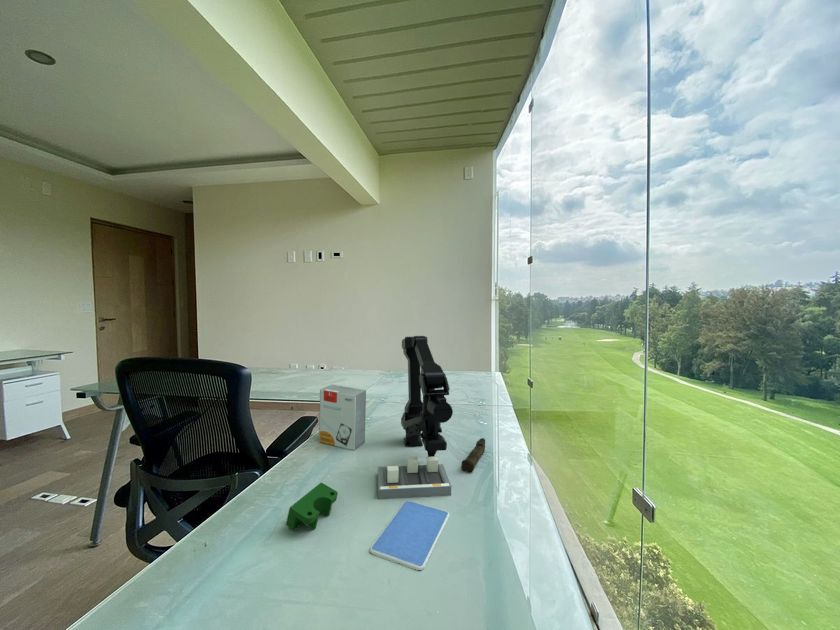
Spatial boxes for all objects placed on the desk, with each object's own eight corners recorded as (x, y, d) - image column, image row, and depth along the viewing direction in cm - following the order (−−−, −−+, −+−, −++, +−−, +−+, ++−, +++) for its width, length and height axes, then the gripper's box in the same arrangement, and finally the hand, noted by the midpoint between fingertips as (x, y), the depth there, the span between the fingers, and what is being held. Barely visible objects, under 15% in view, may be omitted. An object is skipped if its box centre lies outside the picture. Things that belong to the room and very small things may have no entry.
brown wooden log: (472, 474, 103) (473, 460, 103) (460, 471, 105) (461, 456, 105) (491, 450, 120) (491, 438, 119) (480, 448, 121) (481, 435, 121)
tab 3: (426, 467, 101) (426, 456, 100) (436, 467, 101) (436, 456, 101) (427, 472, 98) (428, 460, 98) (437, 471, 99) (438, 460, 98)
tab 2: (406, 468, 100) (407, 457, 100) (416, 468, 100) (417, 457, 100) (407, 473, 97) (407, 461, 97) (417, 472, 98) (417, 461, 98)
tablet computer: (405, 503, 89) (405, 498, 89) (450, 515, 84) (450, 510, 84) (367, 555, 71) (368, 549, 71) (422, 575, 66) (423, 568, 66)
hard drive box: (318, 442, 122) (318, 389, 120) (331, 434, 129) (331, 384, 127) (354, 451, 116) (355, 395, 114) (366, 442, 123) (366, 389, 122)
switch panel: (378, 474, 101) (378, 464, 101) (442, 471, 104) (442, 462, 104) (378, 499, 89) (378, 487, 89) (451, 495, 92) (451, 484, 92)
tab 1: (387, 478, 94) (387, 466, 94) (397, 477, 95) (398, 465, 95) (387, 483, 92) (387, 470, 92) (398, 482, 92) (398, 470, 92)
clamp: (308, 548, 77) (304, 527, 73) (288, 535, 79) (283, 514, 75) (340, 503, 87) (339, 482, 82) (322, 492, 89) (320, 471, 84)
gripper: (403, 401, 110) (402, 446, 111) (408, 422, 92) (407, 477, 93) (436, 400, 112) (434, 445, 113) (448, 421, 93) (446, 475, 94)
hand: (430, 459), depth 103 cm, fingers closed
